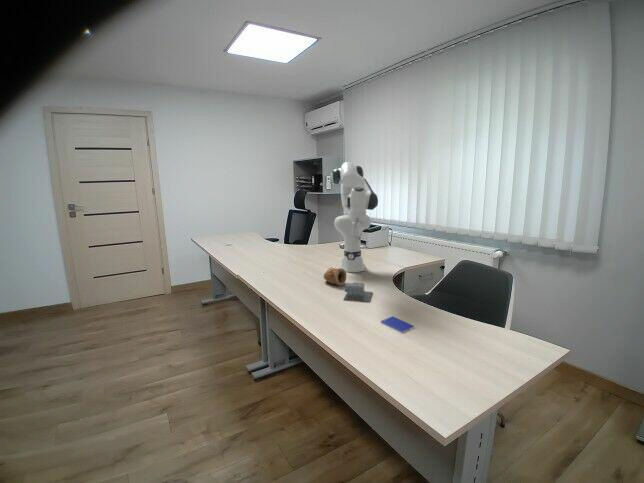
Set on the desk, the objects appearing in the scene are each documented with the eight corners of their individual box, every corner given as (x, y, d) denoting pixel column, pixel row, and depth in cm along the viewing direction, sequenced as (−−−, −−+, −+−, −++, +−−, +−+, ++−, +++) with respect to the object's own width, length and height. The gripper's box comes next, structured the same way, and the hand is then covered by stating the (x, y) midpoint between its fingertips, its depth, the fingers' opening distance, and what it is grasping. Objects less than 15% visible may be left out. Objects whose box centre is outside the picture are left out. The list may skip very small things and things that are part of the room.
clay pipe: (323, 292, 199) (346, 286, 194) (317, 276, 198) (340, 270, 193) (330, 281, 217) (351, 276, 212) (325, 266, 215) (346, 261, 211)
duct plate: (348, 291, 189) (348, 284, 189) (372, 293, 186) (372, 286, 185) (343, 300, 176) (343, 293, 175) (369, 302, 173) (369, 295, 172)
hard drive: (380, 320, 149) (402, 331, 139) (393, 315, 153) (414, 325, 143) (380, 323, 149) (401, 334, 139) (393, 319, 154) (414, 328, 144)
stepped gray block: (364, 293, 183) (364, 283, 182) (362, 297, 177) (362, 287, 176) (346, 292, 186) (346, 282, 185) (344, 296, 180) (344, 285, 179)
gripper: (361, 219, 172) (360, 245, 174) (366, 214, 191) (365, 238, 194) (349, 219, 173) (349, 245, 176) (355, 214, 193) (355, 237, 195)
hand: (357, 241), depth 185 cm, fingers open, 8 cm apart
